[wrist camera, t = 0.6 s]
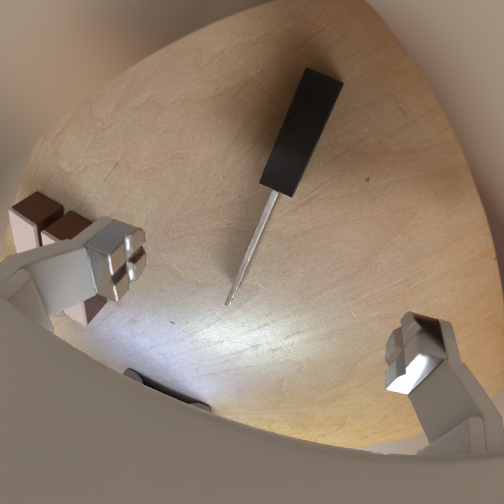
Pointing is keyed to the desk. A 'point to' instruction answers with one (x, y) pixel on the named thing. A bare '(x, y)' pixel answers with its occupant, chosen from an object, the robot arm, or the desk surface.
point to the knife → (293, 148)
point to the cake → (51, 239)
